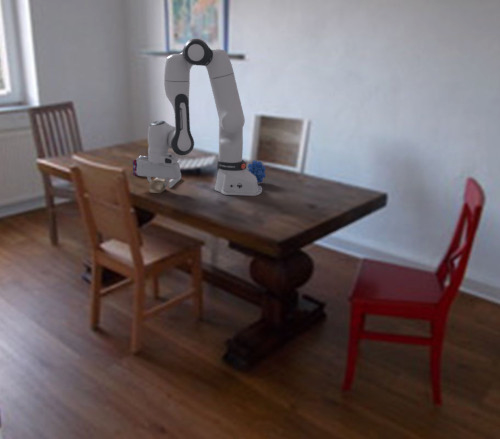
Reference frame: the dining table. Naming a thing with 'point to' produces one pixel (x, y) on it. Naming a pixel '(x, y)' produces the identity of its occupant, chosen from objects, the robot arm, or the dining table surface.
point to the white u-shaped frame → (171, 181)
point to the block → (157, 186)
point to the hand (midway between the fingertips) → (158, 186)
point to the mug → (135, 167)
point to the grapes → (257, 170)
